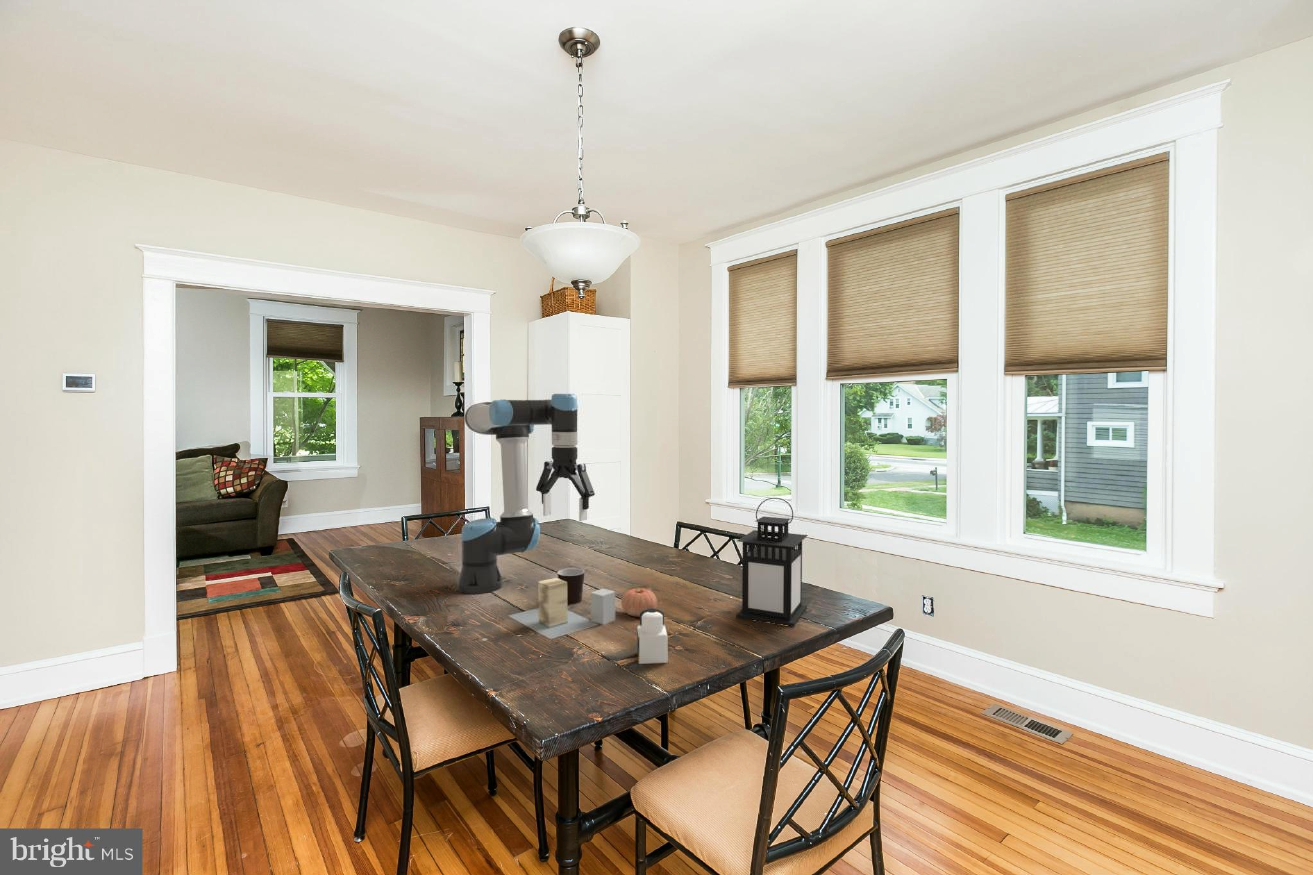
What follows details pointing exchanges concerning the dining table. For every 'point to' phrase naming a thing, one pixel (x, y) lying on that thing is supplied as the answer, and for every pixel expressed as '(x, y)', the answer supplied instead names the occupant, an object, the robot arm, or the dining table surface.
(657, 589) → the dining table surface
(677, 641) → the dining table surface
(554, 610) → the birch block
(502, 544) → the robot arm
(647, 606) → the orange ribbed round piece
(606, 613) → the grey painted block
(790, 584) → the lantern
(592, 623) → the slate mat
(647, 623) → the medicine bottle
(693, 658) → the dining table surface
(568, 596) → the coffee mug
